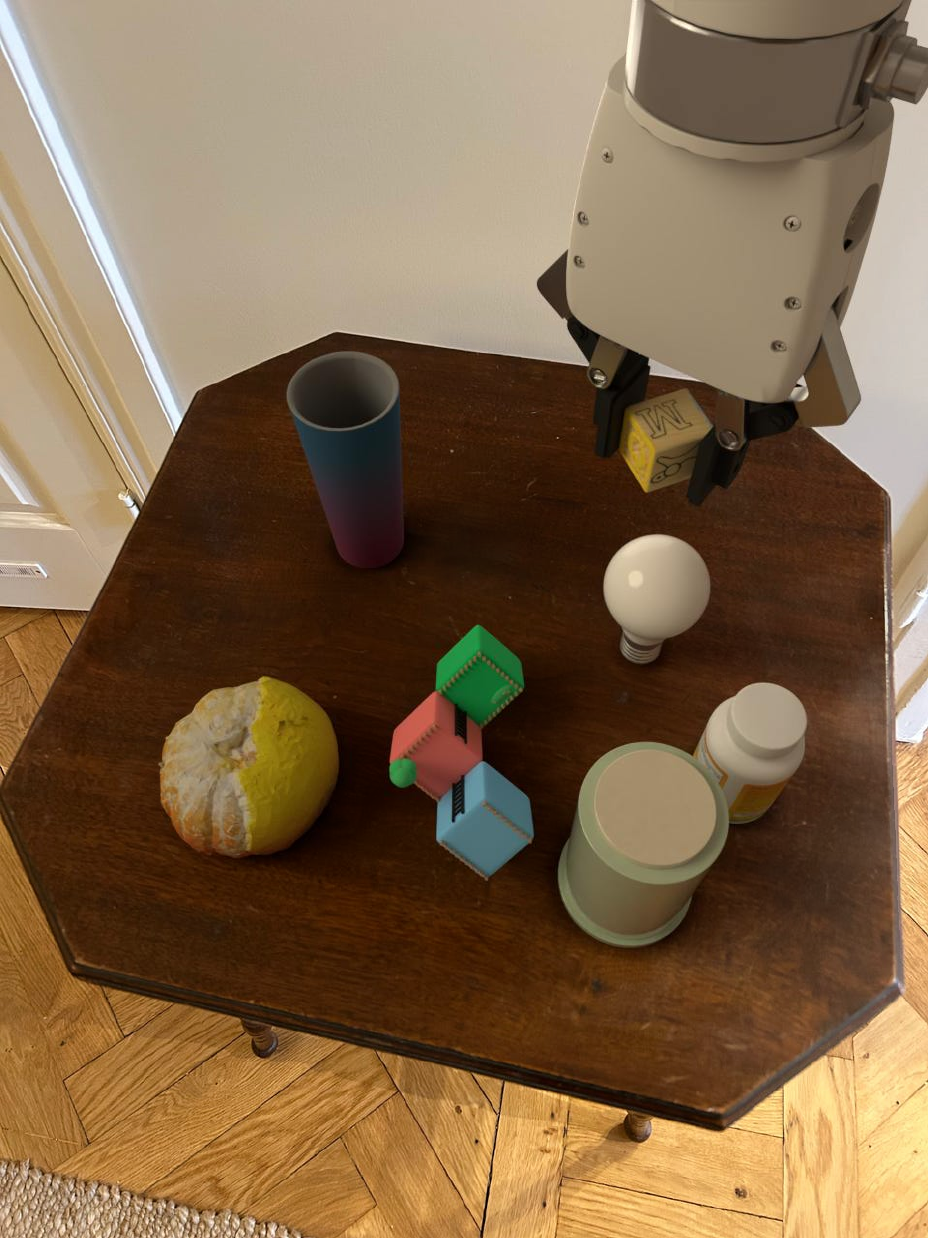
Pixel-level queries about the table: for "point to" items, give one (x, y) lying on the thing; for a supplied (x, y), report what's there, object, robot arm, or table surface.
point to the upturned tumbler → (641, 843)
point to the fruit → (249, 769)
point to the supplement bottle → (754, 747)
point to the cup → (353, 451)
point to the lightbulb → (655, 593)
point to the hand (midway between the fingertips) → (662, 459)
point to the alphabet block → (663, 438)
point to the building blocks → (466, 754)
